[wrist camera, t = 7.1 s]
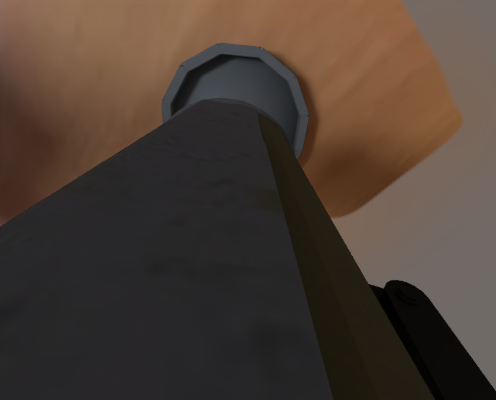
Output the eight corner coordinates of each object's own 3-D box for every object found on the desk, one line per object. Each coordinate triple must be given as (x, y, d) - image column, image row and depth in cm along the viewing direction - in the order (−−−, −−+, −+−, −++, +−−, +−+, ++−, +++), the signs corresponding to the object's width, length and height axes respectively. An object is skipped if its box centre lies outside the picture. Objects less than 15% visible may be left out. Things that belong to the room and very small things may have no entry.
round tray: (171, 181, 37) (167, 187, 35) (163, 38, 28) (157, 36, 26) (290, 191, 37) (293, 197, 36) (316, 54, 29) (321, 53, 27)
